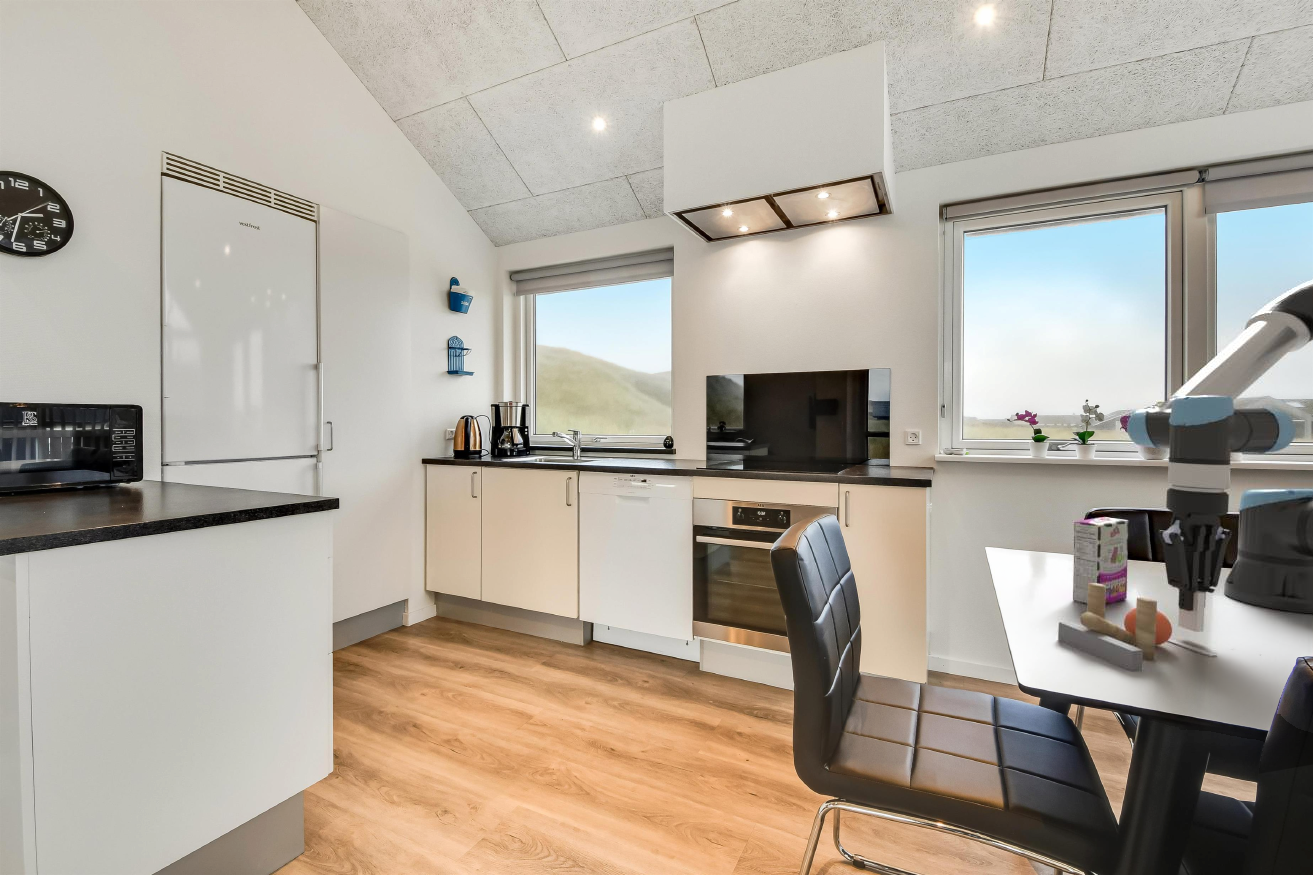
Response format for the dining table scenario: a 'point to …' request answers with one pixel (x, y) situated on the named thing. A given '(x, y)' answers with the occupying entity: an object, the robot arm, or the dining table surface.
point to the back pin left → (1146, 627)
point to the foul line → (1191, 648)
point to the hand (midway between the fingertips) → (1190, 628)
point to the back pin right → (1096, 599)
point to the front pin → (1106, 628)
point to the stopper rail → (1101, 645)
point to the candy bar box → (1100, 557)
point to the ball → (1161, 626)
